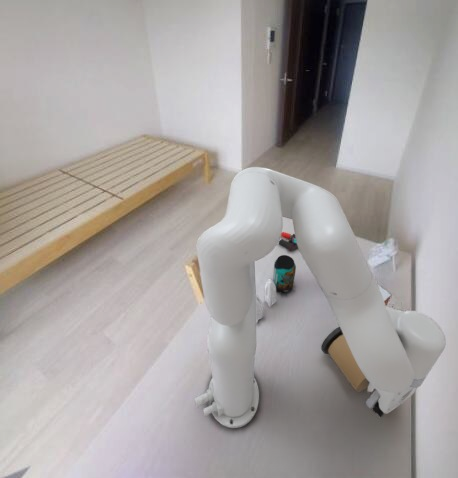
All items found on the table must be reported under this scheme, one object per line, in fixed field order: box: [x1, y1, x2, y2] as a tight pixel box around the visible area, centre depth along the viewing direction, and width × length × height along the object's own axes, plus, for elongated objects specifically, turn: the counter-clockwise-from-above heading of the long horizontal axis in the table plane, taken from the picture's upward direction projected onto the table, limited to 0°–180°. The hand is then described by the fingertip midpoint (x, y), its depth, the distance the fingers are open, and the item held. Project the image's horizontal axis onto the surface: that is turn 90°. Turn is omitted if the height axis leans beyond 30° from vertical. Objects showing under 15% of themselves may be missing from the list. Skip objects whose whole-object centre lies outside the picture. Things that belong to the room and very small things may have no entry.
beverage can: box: [272, 254, 297, 295], centre depth 91 cm, size 7×7×12 cm
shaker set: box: [256, 278, 278, 324], centre depth 85 cm, size 12×4×11 cm, turn 134°
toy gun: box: [278, 231, 298, 252], centre depth 112 cm, size 10×12×5 cm
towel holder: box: [320, 326, 370, 393], centre depth 67 cm, size 10×16×10 cm, turn 24°
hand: (380, 404), depth 63 cm, fingers closed on towel holder, 2 cm apart
